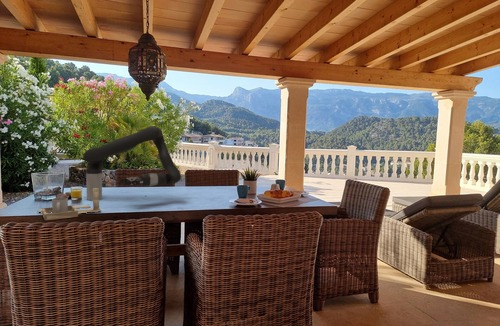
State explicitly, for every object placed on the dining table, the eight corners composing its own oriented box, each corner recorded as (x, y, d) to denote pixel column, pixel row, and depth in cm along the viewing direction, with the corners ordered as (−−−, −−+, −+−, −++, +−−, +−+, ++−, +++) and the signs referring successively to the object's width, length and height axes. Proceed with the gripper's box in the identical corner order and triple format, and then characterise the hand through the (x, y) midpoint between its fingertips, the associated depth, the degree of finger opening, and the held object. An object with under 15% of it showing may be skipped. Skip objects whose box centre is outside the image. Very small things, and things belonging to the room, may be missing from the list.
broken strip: (37, 211, 184) (37, 209, 183) (88, 206, 199) (88, 204, 199) (38, 213, 180) (38, 211, 179) (90, 207, 195) (90, 206, 195)
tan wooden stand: (42, 213, 178) (41, 190, 177) (97, 207, 194) (96, 186, 193) (44, 220, 166) (43, 195, 165) (103, 213, 182) (102, 190, 181)
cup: (69, 213, 182) (68, 197, 182) (65, 218, 173) (65, 201, 172) (54, 213, 180) (53, 197, 179) (49, 218, 171) (49, 201, 170)
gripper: (144, 172, 209) (118, 174, 199) (153, 175, 197) (125, 177, 188) (145, 184, 210) (118, 186, 200) (153, 187, 198) (125, 190, 189)
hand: (121, 181), depth 194 cm, fingers open, 8 cm apart
